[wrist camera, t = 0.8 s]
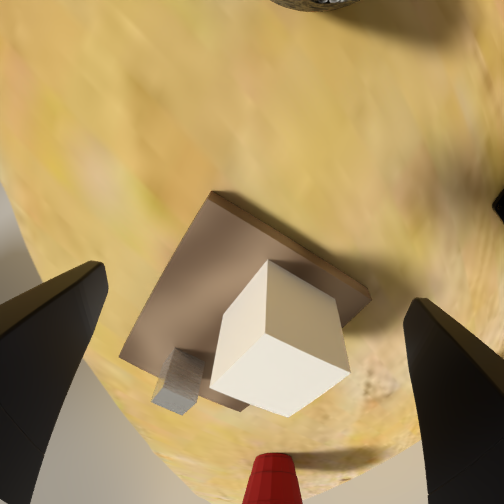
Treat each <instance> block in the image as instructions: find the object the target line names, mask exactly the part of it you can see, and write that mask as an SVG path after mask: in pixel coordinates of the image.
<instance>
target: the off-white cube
mask: <svg viewBox="0 0 504 504" xmlns="http://www.w3.org/2000/svg"><path fill="white" fill-rule="evenodd" d="M350 373H351V371H350V366H349V361H348V356H347V351H346V346H345V341H344V337H343V332H342V327H341V323H340V318H339V314H338V310H337V305H336V301H335V299H334V298H333V297H331V296H329V295H328V294H326V293H324V292H323V291H321V290H319V289H317V288H316V287H314V286H312V285H311V284H309V283H307V282H306V281H304V280H302V279H300V278H299V277H297V276H295V275H294V274H292V273H290V272H289V271H287V270H285V269H283V268H282V267H280V266H278V265H277V264H275V263H273V262H272V261H270V260H268V259H267V261H266V262H265V263H264V264H263V266H262V267H261V268H260V269H259V271H258V272H257V273H256V274H255V276H254V277H253V278H252V279H251V281H250V282H249V283H248V284H247V286H246V287H245V288H244V289H243V291H242V292H241V293H240V294H239V296H238V297H237V298H236V299H235V301H234V302H233V303H232V304H231V305H230V307H229V308H228V309H227V310H226V312H225V313H224V314H223V318H222V323H221V329H220V334H219V339H218V344H217V349H216V355H215V360H214V365H213V371H212V376H211V381H210V387H209V388H211V389H213V390H216V391H218V392H220V393H223V394H225V395H228V396H230V397H233V398H235V399H238V400H240V401H243V402H246V403H248V404H251V405H254V406H256V407H259V408H262V409H265V410H267V411H270V412H273V413H276V414H279V415H282V416H285V417H290V416H291V415H293V414H294V413H296V412H297V411H299V410H300V409H302V408H303V407H305V406H306V405H308V404H309V403H311V402H312V401H313V400H315V399H316V398H318V397H319V396H321V395H322V394H323V393H325V392H326V391H328V390H329V389H330V388H332V387H333V386H334V385H336V384H337V383H338V382H340V381H341V380H342V379H344V378H345V377H346V376H348V375H349V374H350Z"/></svg>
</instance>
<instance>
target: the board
mask: <svg viewBox="0 0 504 504" xmlns="http://www.w3.org/2000/svg"><path fill="white" fill-rule="evenodd" d="M267 259H268V260H270V261H272V262H273V263H275V264H277V265H278V266H280V267H282V268H283V269H285V270H287V271H289V272H290V273H292V274H294V275H295V276H297V277H299V278H300V279H302V280H304V281H306V282H307V283H309V284H311V285H312V286H314V287H316V288H317V289H319V290H321V291H323V292H324V293H326V294H328V295H329V296H331V297H333V298H334V299H335V301H336V305H337V310H338V314H339V318H340V323H341V327H342V328H343V327H344V326H345V325H346V324H347V323H348V322H349V321H350V320H351V319H352V318H353V317H355V316H356V315H357V314H358V313H359V312H360V311H361V310H362V309H363V308H364V307H365V306H366V305H367V304H368V303H369V302H370V301H371V300H372V299H371V297H370V294H369V291H368V289H367V288H366V287H365V286H363V285H362V284H360V283H359V282H357V281H356V280H354V279H353V278H351V277H349V276H348V275H346V274H345V273H343V272H342V271H340V270H339V269H337V268H336V267H334V266H332V265H331V264H329V263H328V262H326V261H325V260H323V259H321V258H320V257H318V256H317V255H315V254H314V253H312V252H310V251H309V250H307V249H306V248H304V247H302V246H301V245H299V244H298V243H296V242H294V241H293V240H291V239H290V238H288V237H286V236H285V235H283V234H282V233H280V232H278V231H277V230H275V229H274V228H272V227H270V226H269V225H267V224H266V223H264V222H262V221H261V220H259V219H257V218H256V217H254V216H252V215H251V214H249V213H248V212H246V211H244V210H243V209H241V208H239V207H238V206H236V205H234V204H233V203H231V202H229V201H228V200H226V199H224V198H223V197H221V196H219V195H218V194H216V193H214V192H213V191H211V192H210V194H209V195H208V197H207V199H206V200H205V202H204V204H203V205H202V207H201V208H200V210H199V212H198V213H197V215H196V217H195V218H194V220H193V222H192V223H191V225H190V227H189V228H188V230H187V232H186V233H185V235H184V237H183V238H182V240H181V242H180V244H179V245H178V247H177V249H176V250H175V252H174V254H173V256H172V257H171V259H170V261H169V263H168V264H167V266H166V268H165V270H164V271H163V273H162V275H161V277H160V279H159V280H158V282H157V284H156V286H155V288H154V289H153V291H152V293H151V295H150V297H149V299H148V300H147V302H146V304H145V306H144V308H143V310H142V311H141V313H140V315H139V317H138V319H137V321H136V323H135V325H134V327H133V329H132V330H131V332H130V334H129V336H128V338H127V340H126V342H125V344H124V346H123V348H122V350H121V352H120V355H119V358H121V359H123V360H125V361H127V362H129V363H131V364H132V365H134V366H136V367H138V368H140V369H142V370H144V371H146V372H148V373H150V374H152V375H154V376H157V377H159V374H160V371H161V368H162V365H163V363H164V362H165V360H166V359H167V358H168V356H169V355H170V354H171V352H172V351H173V349H174V348H175V347H176V348H178V349H180V350H182V351H184V352H186V353H188V354H190V355H192V356H194V357H196V358H198V359H200V360H202V361H205V365H204V369H203V374H202V379H201V384H200V388H199V393H198V395H199V396H201V397H203V398H206V399H208V400H211V401H213V402H216V403H218V404H221V405H223V406H226V407H228V408H231V409H234V410H236V411H239V412H241V411H242V410H244V409H245V408H246V407H248V406H249V405H250V404H248V403H246V402H243V401H240V400H238V399H235V398H233V397H230V396H228V395H225V394H223V393H220V392H218V391H216V390H213V389H211V388H209V387H210V381H211V376H212V371H213V365H214V360H215V355H216V349H217V344H218V339H219V334H220V329H221V323H222V318H223V314H224V313H225V312H226V310H227V309H228V308H229V307H230V305H231V304H232V303H233V302H234V301H235V299H236V298H237V297H238V296H239V294H240V293H241V292H242V291H243V289H244V288H245V287H246V286H247V284H248V283H249V282H250V281H251V279H252V278H253V277H254V276H255V274H256V273H257V272H258V271H259V269H260V268H261V267H262V266H263V264H264V263H265V262H266V261H267Z"/></svg>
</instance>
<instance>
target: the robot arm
mask: <svg viewBox="0 0 504 504" xmlns="http://www.w3.org/2000/svg"><path fill="white" fill-rule="evenodd" d="M498 205H499V206H498ZM497 206H498V208H497ZM492 208H493V210H494V211H495V213H496V214H497V216H498V217H499V218H500V220H501V221H502V222H503V224H504V189H503V190H502V192H501V193H500V194H499V196H498V197H497V198H496V200H495V201H494V202H493V205H492ZM107 294H108V281H107V276H106V270H105V266H104V264H103V263H102V262H98V261H88V262H86V263H84V264H82V265H80V266H78V267H75V268H73V269H71V270H69V271H67V272H65V273H63V274H61V275H59V276H56V277H54V278H52V279H50V280H48V281H46V282H44V283H42V284H40V285H38V286H36V287H34V288H32V289H30V290H28V291H26V292H24V293H22V294H20V295H19V296H16V297H14V298H12V299H10V300H9V301H6V302H5V303H3V304H1V305H0V499H1V500H3V501H4V502H6V503H8V504H30V502H31V498H32V495H33V491H34V488H35V484H36V481H37V477H38V474H39V471H40V467H41V465H42V461H43V458H44V454H45V452H46V449H47V446H48V443H49V440H50V437H51V434H52V432H53V429H54V426H55V423H56V421H57V418H58V415H59V413H60V410H61V408H62V405H63V402H64V400H65V397H66V395H67V392H68V390H69V388H70V385H71V383H72V380H73V378H74V376H75V373H76V371H77V369H78V366H79V364H80V362H81V359H82V357H83V355H84V353H85V351H86V348H87V346H88V344H89V342H90V340H91V337H92V335H93V332H94V330H95V327H96V324H97V321H98V318H99V316H100V313H101V310H102V307H103V304H104V302H105V299H106V296H107ZM403 329H404V336H405V343H406V351H407V359H408V367H409V373H410V378H411V383H412V388H413V393H414V398H415V403H416V409H417V414H418V420H419V426H420V432H421V439H422V446H423V454H424V461H425V470H426V480H427V490H428V494H429V495H428V504H504V359H502V358H501V357H500V356H499V355H498V354H496V353H495V352H494V351H493V350H492V349H490V348H489V347H488V346H487V345H486V344H484V343H483V342H482V341H481V340H480V339H478V338H477V337H476V336H475V335H473V334H472V333H471V332H470V331H469V330H467V329H466V328H465V327H464V326H462V325H461V324H460V323H458V322H457V321H456V320H455V319H453V318H452V317H451V316H450V315H448V314H447V313H446V312H444V311H443V310H442V309H441V308H439V307H438V306H437V305H435V304H434V303H433V302H431V301H430V300H429V299H427V298H419V297H416V298H414V299H413V301H412V302H411V305H410V307H409V309H408V311H407V313H406V316H405V318H404V321H403Z"/></svg>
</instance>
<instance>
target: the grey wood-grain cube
mask: <svg viewBox="0 0 504 504" xmlns="http://www.w3.org/2000/svg"><path fill="white" fill-rule="evenodd" d="M204 365H205V361H202V360H200V359H198V358H196V357H194V356H192V355H190V354H188V353H186V352H184V351H182V350H180V349H178V348H176V347H175V348H174V349H173V351H172V352H171V354H170V355H169V356H168V358H167V359H166V360H165V362H164V363H163V365H162V368H161V371H160V374H159V377H158V381H157V384H156V387H155V390H154V393H153V396H152V399H151V402H152V403H155V404H157V405H159V406H161V407H164V408H166V409H168V410H170V411H173V412H175V413H178V414H180V415H183V414H184V413H185V412H187V411H188V410H189V409H190V408H191V407H192V406H193V405H194V404H195V403H196V402H197V398H198V393H199V388H200V384H201V379H202V374H203V369H204Z"/></svg>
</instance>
